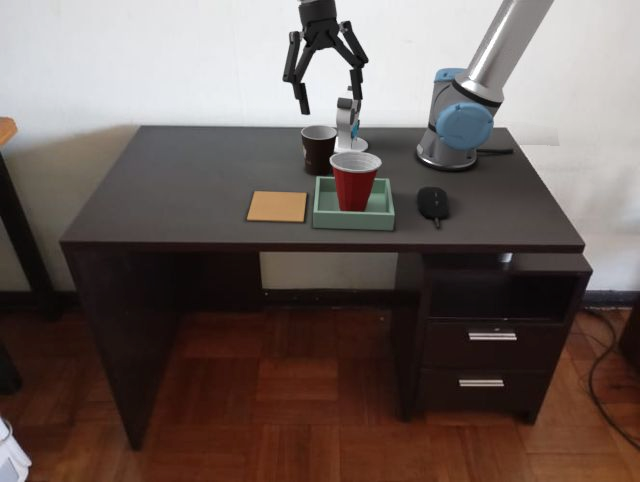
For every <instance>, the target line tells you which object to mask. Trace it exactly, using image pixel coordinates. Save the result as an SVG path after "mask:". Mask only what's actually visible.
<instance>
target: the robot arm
mask: <svg viewBox="0 0 640 482" xmlns="http://www.w3.org/2000/svg"><path fill="white" fill-rule="evenodd" d="M296 1H297V2H300V4H299V5H298V7H297V8H298V14H299V19H300V24H301V26H302V28H301V31H299V30H294V31H289V32H288V39H289V41H288V42H289V46H288V49H287V54H286V59H285V64H284V69H283V72H282V73H283V74H282V82H283V83H289V84H290V85H292V91H293V95H294V99H295V100H296V101H298V104H299V109H300V114H301V115H302V116H310V115H311V109H310V103H309V98H308V93H307V86H306V82H302V80H303V78H304V76H305V74H306V72H307V70H308V67H309V65H310V63H311V60H312V59H313V56H314V55H315V54H316V53H317V52H318V51H323V50H325V49H334V50H335V51H336V52H337V53H338V54H339V55H340V56H341V58H343V59H344V61H345V62H346V63H347V64H348V65H349V66H350V67H351V69H349V70H348V71H349V77H350V78H349V79H350V86H352V93H353V100H361V101H363V100H364V96H363V95H364V94H363V88H361V87H362V84H363V83H364V76H363V69H364V68H365V65H367V64H369V61H370V59H369V57H368V56H367V54H366V51H365V50H364V48H363V46H362V45H361V43H360V41H359V40H358V37H357V36H356V34H355V32H354V30H353V25H352V22H351V20H342V21H340V23H338V19H337V18H338V12H337V5H336V0H296ZM554 2H555V0H502V2H501V4H500V6H499V8H498V9H497V11H496V12H495V13H496V14H495V15H494V17H493V19H492V21H491V22H490V25H489V27H488V28H487V30H486V32H485V34H484V36H483V38H482V39H481V41H480V44H479V45H478V47H477V49H476V51H475V53H474V55H473V56H472V59H471V60H470V62H469V64H468V66H467V67H466V68H463V67H444V68H440V69H439V70H437V71H436V72H435V76H434V80H433V90H432V95H431V101H430V109H429V113H428V114H429V117H428V122H427V127H426V130H425V132H424V134H423V136H422V138H421V140H420V142H419V143H417V146H416V159H417V161H418V162H420V163H421V164H422V165H423V166H426V167H428V168H431V169H434V170H438V171H442V172H443V171H444V172H462V171H466V170H469V169H471V168H473V167H474V166H475V164H476V160H477V154H480V153H481V154H510V153H514V148H505V149H504V148H503V149H497V148H496V149H492V148H480V147H481V146H483V145H484V144H485V143H487V141H488V140H489V139H490V138H491V136H492V133H493V131H494V130H493V129H494V126H495V121H494V118H495V116H496V114H497V113H498V111H499V110H500V108H501V106H502V105H503V103H504V101H505V99H506V98H505V95H504V91H503V90H504V87H505V85H506V84H507V82H508V80H509V78H510V77H511V75H512V73H513V71H515V69H516V67H517V65H518V64H519V62H520V60H521V58H522V56H523V55H524V53H525V52H526V49H527V48H528V47H529V45H530V42H532V39H533V37H534V36H535V34H536V33H537V31H538V30H539V27H540V26H541V24H542V23H543V21H544V19H545V17H546V15H547V14H548V12H549V11H550V8H552V6H553V4H554ZM340 33H341V34H342V37H343V39H344V41H345V42H346V44H347V46H348V47H347V46H346V45H345V43H344V41H343V39H341V38H340V36H338V35H339V34H340ZM303 40H304V41H305V43H304V46H303V49H302V53H301V56H300V57H299V53H300V48H301V43H302V41H303ZM298 57H299V58H298ZM298 59H299V60H298Z"/></svg>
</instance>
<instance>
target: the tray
mask: <svg viewBox="0 0 640 482" xmlns="http://www.w3.org/2000/svg"><path fill="white" fill-rule="evenodd" d="M390 183H391V182H390V178H381V177H379V178H378V177H377V178H376V177H375V179H374V183H373V187H372V190H371V194H370V197H369V199H368V203H367V207H366V209H365V211H364V212H346V211H341V210H340V208H339V202H338V197H337V190H336V183H335V176H321V175H316V182H315V189H314V190H315V193H314V202H313V203H314V204H313V219H312V220H313V221H312V222H313V226H312V227H313V229H339V230H340V229H341V230H367V231H369V230H371V231H394V225H395V218H396V217H395V216H396V215H395V208H394V201H393V195H392V188H391V184H390Z"/></svg>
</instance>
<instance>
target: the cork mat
mask: <svg viewBox="0 0 640 482" xmlns="http://www.w3.org/2000/svg"><path fill="white" fill-rule="evenodd" d="M253 192H254V193H253V195H252V200H251V204H250V207H249V211H248V214H247V218H246V221H247V222H273V223H300V224H301V223H302V224H303V223H304V220H305V213H306V212H305V211H306V203H307V192H294V191H293V192H292V191H265V190H263V191H262V190H255V191H253Z"/></svg>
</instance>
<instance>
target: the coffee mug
mask: <svg viewBox="0 0 640 482" xmlns="http://www.w3.org/2000/svg"><path fill="white" fill-rule="evenodd" d="M300 135H301V142H302V143H301V144H302V151H303V158H304V166H305V167H304V168H305V172H306V173H308V174H309V175H312V176H325V175H328V174H330V173H331V171H332V168H333V167H332V165H331V163H330V158H331V157H332V156H333V155H334V154H335V152H334V148H335V142H336V137H338V130H337V129H335V128H334V127H332V126H329V125H323V124H315V125H314V124H313V125H308V126H305V127H303V128H302V129H301V131H300Z"/></svg>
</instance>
